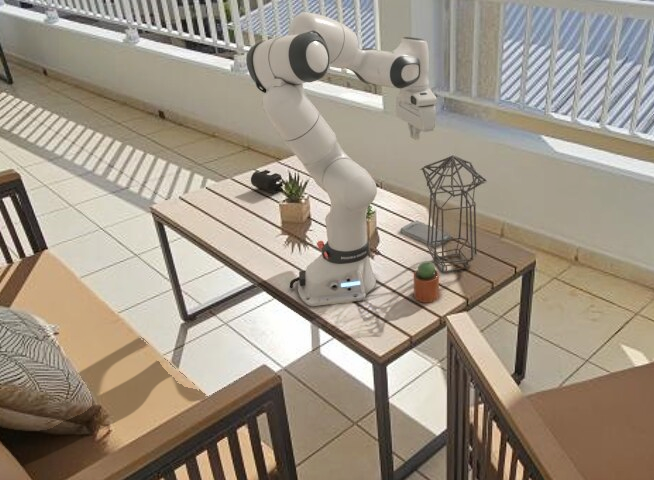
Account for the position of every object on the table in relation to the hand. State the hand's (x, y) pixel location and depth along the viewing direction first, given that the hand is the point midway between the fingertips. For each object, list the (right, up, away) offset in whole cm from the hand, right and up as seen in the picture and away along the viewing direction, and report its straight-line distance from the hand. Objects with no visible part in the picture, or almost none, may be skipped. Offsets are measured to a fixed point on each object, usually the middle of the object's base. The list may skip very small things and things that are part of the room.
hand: (414, 138), depth 192 cm
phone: (+3, -30, +12) cm, 32 cm away
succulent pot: (+3, -48, -17) cm, 51 cm away
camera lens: (-56, -12, +44) cm, 72 cm away
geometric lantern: (+11, -39, -3) cm, 41 cm away
